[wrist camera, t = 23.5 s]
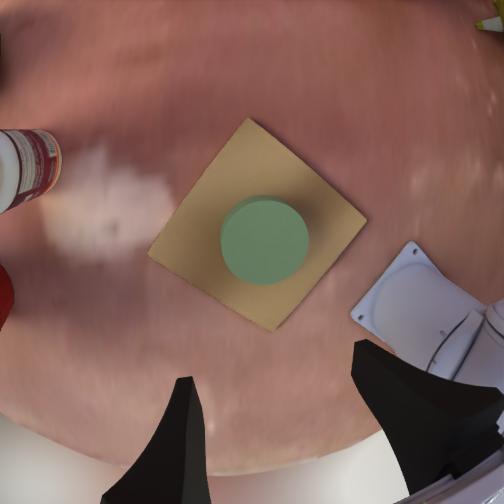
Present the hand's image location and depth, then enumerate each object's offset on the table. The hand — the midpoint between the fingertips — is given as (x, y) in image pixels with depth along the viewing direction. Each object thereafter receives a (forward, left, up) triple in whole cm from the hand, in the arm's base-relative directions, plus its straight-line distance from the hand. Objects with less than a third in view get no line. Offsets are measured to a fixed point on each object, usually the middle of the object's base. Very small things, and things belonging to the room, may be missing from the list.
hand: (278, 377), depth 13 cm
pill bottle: (+17, +2, -11) cm, 20 cm away
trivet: (+1, -3, -10) cm, 11 cm away
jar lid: (+1, -3, -8) cm, 9 cm away
